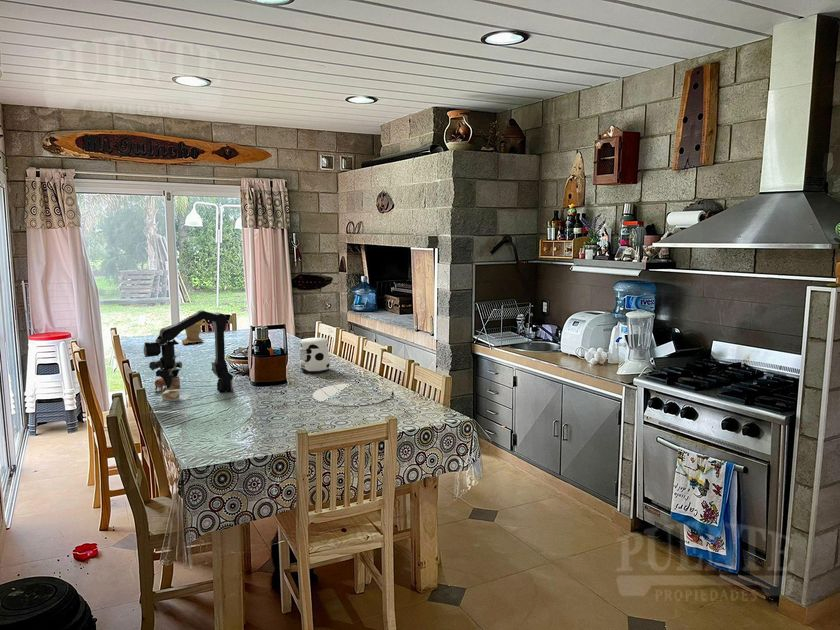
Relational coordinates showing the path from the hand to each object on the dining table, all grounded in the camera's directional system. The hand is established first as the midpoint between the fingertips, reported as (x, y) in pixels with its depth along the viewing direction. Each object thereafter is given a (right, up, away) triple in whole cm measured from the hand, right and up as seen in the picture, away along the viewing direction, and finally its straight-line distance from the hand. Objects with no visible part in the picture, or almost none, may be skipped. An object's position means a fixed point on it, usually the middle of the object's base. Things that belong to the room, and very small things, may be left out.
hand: (170, 386), depth 290 cm
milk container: (+59, +2, +59) cm, 83 cm away
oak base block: (0, -5, +1) cm, 6 cm away
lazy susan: (+87, -6, +8) cm, 87 cm away
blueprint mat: (+2, -6, +1) cm, 7 cm away
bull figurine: (-10, -4, +17) cm, 20 cm away
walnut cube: (+2, -1, +1) cm, 2 cm away
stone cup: (-44, +14, +143) cm, 151 cm away
